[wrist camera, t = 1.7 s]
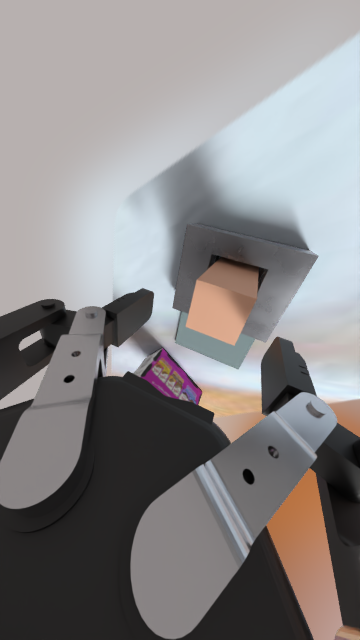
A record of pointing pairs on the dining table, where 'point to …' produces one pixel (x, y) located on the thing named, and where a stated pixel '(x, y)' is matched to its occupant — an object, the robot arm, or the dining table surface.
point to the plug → (223, 299)
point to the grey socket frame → (278, 260)
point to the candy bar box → (168, 377)
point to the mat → (213, 344)
